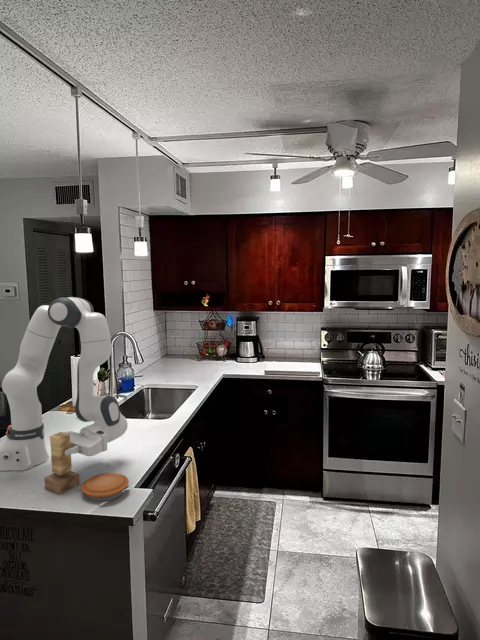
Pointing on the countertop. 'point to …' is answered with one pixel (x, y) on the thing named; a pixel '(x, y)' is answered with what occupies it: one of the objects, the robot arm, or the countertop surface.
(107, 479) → the pie
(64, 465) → the oak post
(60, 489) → the walnut plinth
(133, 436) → the countertop surface
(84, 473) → the slate board
